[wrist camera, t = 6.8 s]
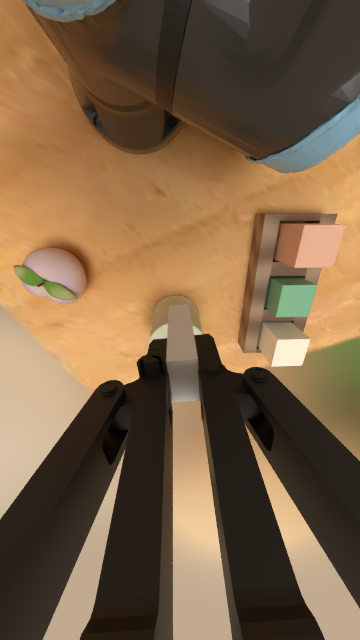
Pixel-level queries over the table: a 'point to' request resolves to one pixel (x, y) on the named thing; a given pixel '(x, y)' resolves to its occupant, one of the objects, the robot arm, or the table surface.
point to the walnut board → (266, 267)
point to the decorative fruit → (53, 275)
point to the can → (161, 317)
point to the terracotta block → (308, 244)
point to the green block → (289, 296)
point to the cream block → (282, 343)
